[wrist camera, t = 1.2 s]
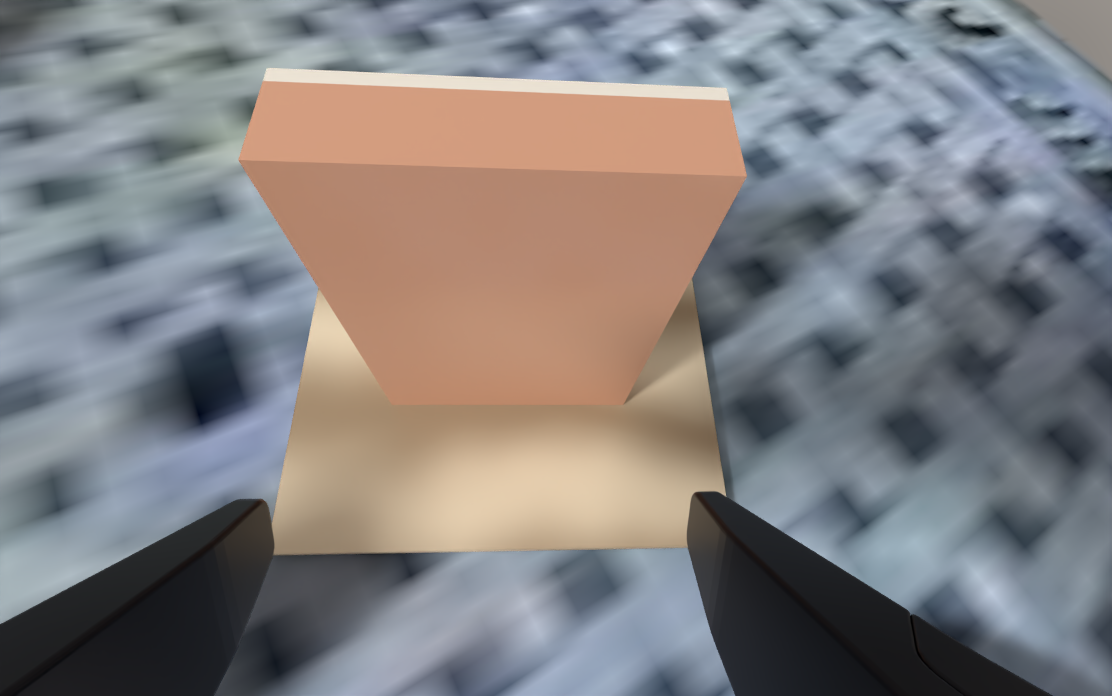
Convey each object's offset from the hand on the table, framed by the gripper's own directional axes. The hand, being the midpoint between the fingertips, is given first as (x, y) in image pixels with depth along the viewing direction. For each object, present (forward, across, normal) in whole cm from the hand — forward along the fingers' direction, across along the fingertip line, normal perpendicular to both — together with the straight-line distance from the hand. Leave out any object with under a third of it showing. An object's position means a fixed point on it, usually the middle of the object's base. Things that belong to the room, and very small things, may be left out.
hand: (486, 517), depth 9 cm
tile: (+14, 0, +4) cm, 15 cm away
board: (+18, 0, 0) cm, 18 cm away
